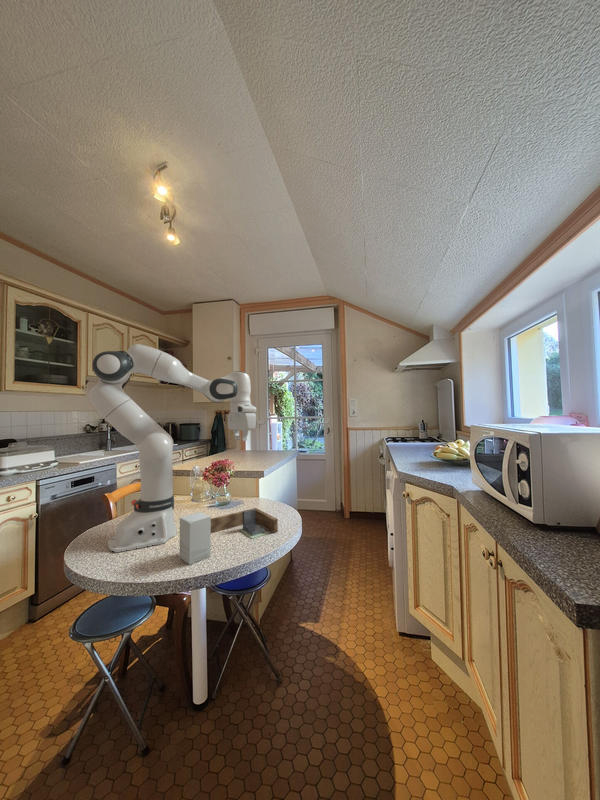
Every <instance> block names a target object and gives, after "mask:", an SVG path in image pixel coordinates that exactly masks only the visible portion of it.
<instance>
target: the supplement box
mask: <svg viewBox="0 0 600 800" xmlns="http://www.w3.org/2000/svg"><path fill="white" fill-rule="evenodd" d="M211 519H212V517H211V516H209V515H207V514H206V513H204V512H201V511H199V512H195V513H191V514H188V515H183V516H181V517H179V558H180V559H181V560H183V562H185V563H186V564H187V565H192V564H195V563H197V562H198V563H199V562H201V561H203V560H205V559H207V558H208V559H209V558H210V557H211V554H212V553H211V552H212V551H211V547H212V545H211V544H212V543H211V542H212V541H211V539H212V537H211V534H212V533H211Z"/></svg>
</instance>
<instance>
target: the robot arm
mask: <svg viewBox="0 0 600 800" xmlns="http://www.w3.org/2000/svg"><path fill="white" fill-rule="evenodd" d="M91 362H92V365H91V368H92V371H93V373H94V375H95V376H97V379H98V383H96V385H95V386H93V387H92V388H91V389H90V390H89V392H88V396H87V397H88V400H89V403H91V405H92V407H93V408H94V409H95V410H96V412H97V413H98V414H99V415H100V416H101V417H102V418H103V419H104V420H105V421H107V422H108V423H109V425H111V426H112V427H113V428H114V429H115V430H116V431H117V432H118V433H119V434H120V435H121V436H123V437H125V438H126V439H127V440H128V441H130V442H131V443H132V444H134V445H135V446H137V447H138V458H139V459H138V460H139V461H138V462H139V463H138V464H139V472H140V474H139V475H140V495H139V496H140V497H139V499H138V500H137V499H132V500H131V502H130V504H131V505H132V506H133V511H132V512H131V513H130V514H128V515H127V516H126V517H125V518H124V519H122V520H121V521H120V522H119V523H118V525H117V526H116V530H115V534H114V535H113V536H111V537H110V538H108V541H107V549H108V548H109V549H108V550H109V551H110V550H111V552H112V551H114V552H113V553H122V552H126V550H127V551H132V550H137V549H141V548H146V547H147V546H148V547H151V546H152V545H153V546H157V545H161V544H164V543H165V544H166V543H167V541H168V540H169V539H170V538H172V537H175V535H176V534H177V532H178V530H177V527H176V523H175V517H174V516H175V515H174V510H175V496H174V493H173V492H174V490H173V489H174V482H173V481H174V471H173V465H174V464H173V450H174V445H175V444H174V439H173V438H172V436H171V435H170V434H169V433H168V432H167V431H166V430H165V429H164V428H163V427H162V426H161V425H159V424H158V423H157V421H155V420H154V419H153V418H152V417H150V416H149V414H147V413H146V412H145V411H144V409H142V408H141V407H140V406H139V405H138V404H137V403H136V402H135V401H134V400H133V399H132V398H131V397H130V396H129V395H128V394H127V393H126V392H125V390H124V388H125V386H126V385H127V384H128V383H129V381H130V380H131V377H132V374H134V373H135V374H136V373H137V374H141V375H142V374H144V375H146V376H149V377H151V378H153V379H155V380H157V381H158V380H159V381H162V382H167V383H172V384H177V385H180V386H181V385H182V386H184V387H187V388H189V389H192V390H194V391H196V392H199V393H201V394H203V395H204V396H205V397H206V398H207V399H208V400H209V401H210V402H212V403H214V404H215V403H217V404H218V403H222V402H224V401H227V400H229V402H230V403H229V406H230V408H229V413H228V417H227V429H229V430H233V434H234V440H236V441H240V439H241V441H243V442H247V441H248V435H249V431H255V430H256V426H257V415H256V412H257V407H256V406H254V405H253V404H252V401H251V394H252V393H251V391H252V389H251V387H252V384H251V377H250V376H249V374H248V373H246V372H244V371H239V370H233V371H232V372H230V373H229V374H227V375H225V376H222V377H218V378H214V379H213V380H209V379H206V378H204V377H202V376H199V375H197V374H195V373H193V372H191V371H189V370H188V369H187V368H186V367H185V366H184V365H183V363H182V362H181V361H180V360H179V359H177V357H174V356H173V355H171V354H170V353H167V352H165V351H163V350H160V349H157V348H155V347H151V346H148V345H145V344H142V343H141V344H139V343H136V344H132V345H131V346H130V347H129V348H128V349H127V350H126V351H125V350H107V351H106V350H105V351H102V352H100V353H99V352H98V353H97V355H95V357H94V358H93V360H92V361H91ZM240 431H242V432H241V433H242V436H241V435H240V433H239V432H240ZM153 546H152V547H153ZM148 547H147V548H148ZM136 548H137V549H136ZM121 551H122V552H121Z"/></svg>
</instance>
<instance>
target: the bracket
mask: <svg viewBox="0 0 600 800" xmlns="http://www.w3.org/2000/svg"><path fill="white" fill-rule="evenodd" d="M242 511H243V525H242V529H243V530H244V531H246V532H247V533H249V534H250V535H252V536H255V535H258V534H261V533H264V531H265V528H264V527H263V526H261V525H259V524H258V523H256V509H253V508H250V510H249V509H246V511H245V510H242Z"/></svg>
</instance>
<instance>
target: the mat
mask: <svg viewBox="0 0 600 800" xmlns="http://www.w3.org/2000/svg"><path fill="white" fill-rule="evenodd" d="M239 531H240V532H241V533H243V534H244V535H246V536H247V537H248V538H250V540H251V539H252V540H253V539H257V538H260V537H263V536H266V535H269V532H268V531H266V530H264V533H261V534H258V535H255V536H252V535H250V534H249V533H247V532H246V531H244V530H243V528H239Z"/></svg>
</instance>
